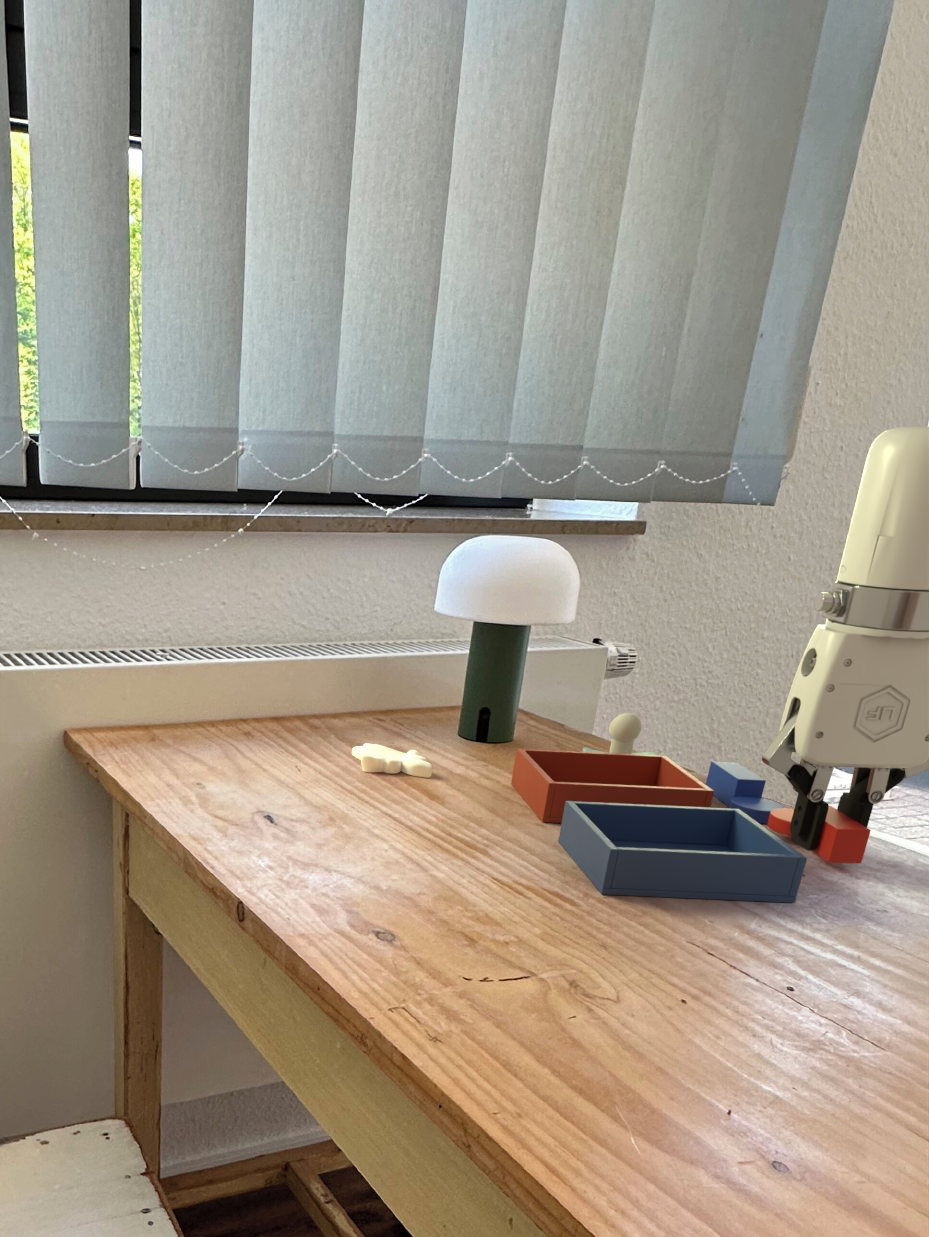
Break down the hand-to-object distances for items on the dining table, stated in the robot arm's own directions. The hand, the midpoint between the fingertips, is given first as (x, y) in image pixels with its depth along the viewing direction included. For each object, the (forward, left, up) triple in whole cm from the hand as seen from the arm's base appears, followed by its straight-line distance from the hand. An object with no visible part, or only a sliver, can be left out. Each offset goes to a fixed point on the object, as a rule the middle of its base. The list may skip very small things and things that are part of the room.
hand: (823, 843), depth 86 cm
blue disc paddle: (+1, -14, -1) cm, 14 cm away
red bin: (+14, -12, -1) cm, 18 cm away
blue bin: (+14, +4, -1) cm, 15 cm away
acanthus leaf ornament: (+32, -22, -1) cm, 39 cm away
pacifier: (+9, -24, -1) cm, 25 cm away
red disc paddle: (0, -2, 0) cm, 2 cm away
